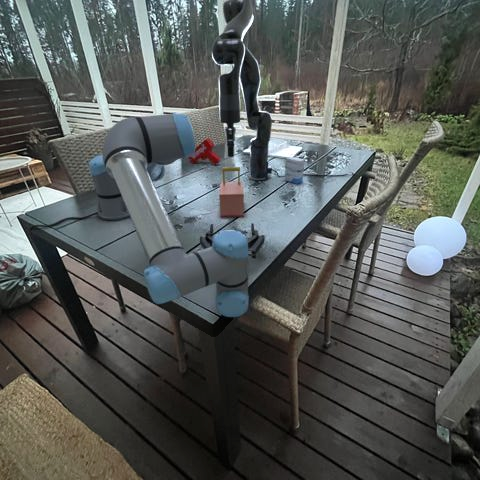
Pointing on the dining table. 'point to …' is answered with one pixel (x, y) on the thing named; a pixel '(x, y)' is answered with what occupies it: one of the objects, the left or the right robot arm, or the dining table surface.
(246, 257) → the left robot arm
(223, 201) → the chest
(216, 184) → the dining table surface
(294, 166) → the ink box
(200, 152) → the toy gun
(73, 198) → the dining table surface
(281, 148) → the relief map
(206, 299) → the dining table surface
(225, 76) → the right robot arm
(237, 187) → the block with yellow handle
